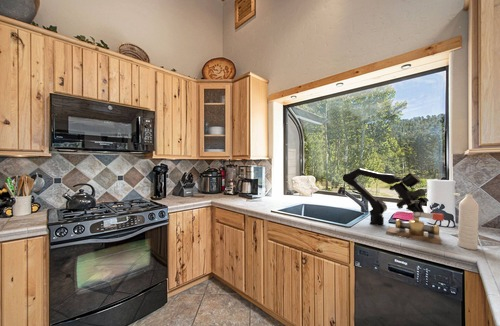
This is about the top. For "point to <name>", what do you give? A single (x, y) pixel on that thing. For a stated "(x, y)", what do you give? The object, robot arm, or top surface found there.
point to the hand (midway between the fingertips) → (424, 216)
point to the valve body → (417, 227)
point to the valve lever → (429, 215)
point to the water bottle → (468, 222)
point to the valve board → (423, 238)
